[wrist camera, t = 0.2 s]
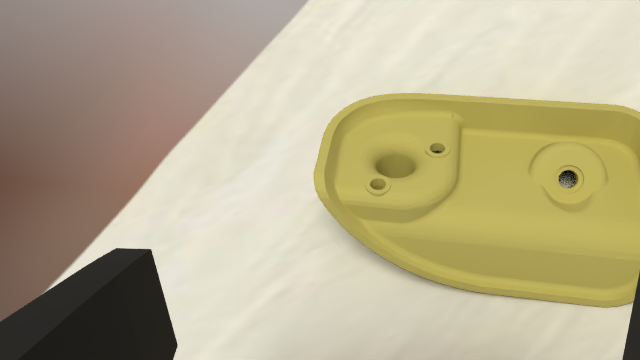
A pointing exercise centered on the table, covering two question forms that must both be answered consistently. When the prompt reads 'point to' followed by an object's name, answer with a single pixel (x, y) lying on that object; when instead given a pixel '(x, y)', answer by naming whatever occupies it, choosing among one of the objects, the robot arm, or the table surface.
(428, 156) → the plastic component
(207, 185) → the table surface
